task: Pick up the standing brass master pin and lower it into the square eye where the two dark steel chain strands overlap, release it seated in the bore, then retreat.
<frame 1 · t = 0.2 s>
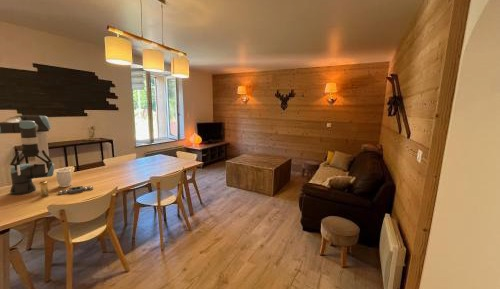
hand: (33, 173, 149), 28 cm above the table, fingers open, 13 cm apart
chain: (76, 191, 189), on the table
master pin: (45, 196, 177), on the table
jar: (65, 186, 200), on the table
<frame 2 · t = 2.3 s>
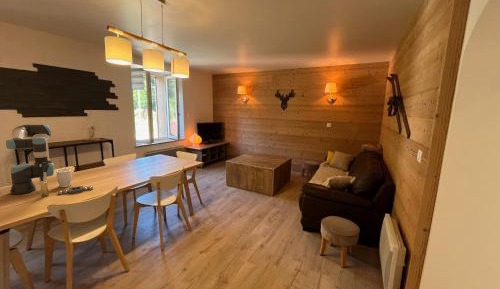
hand: (43, 182, 174), 12 cm above the table, fingers open, 13 cm apart
nothing on the table moved.
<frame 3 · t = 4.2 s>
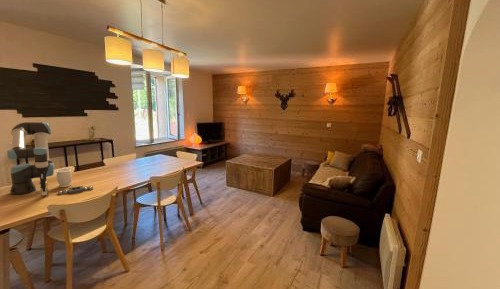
hand: (44, 193, 176), 2 cm above the table, fingers closed on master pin, 4 cm apart
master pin: (45, 196, 177), on the table, touching gripper
everything else where it was.
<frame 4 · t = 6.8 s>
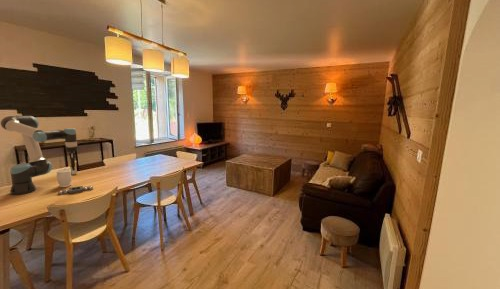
hand: (74, 172, 186), 17 cm above the table, fingers closed on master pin, 4 cm apart
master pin: (74, 175, 186), point 15 cm above the table, touching gripper
everything else where it was.
when the fingers open (3 cm above the table, at t = 9.4 s): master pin stays where it is, resting in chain.
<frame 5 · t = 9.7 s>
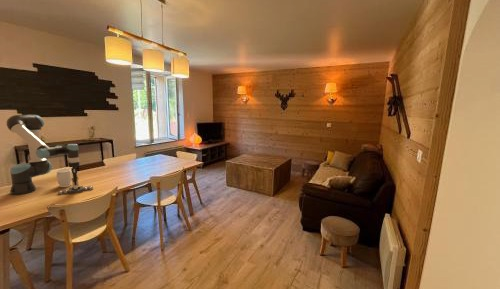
hand: (75, 186, 189), 4 cm above the table, fingers open, 8 cm apart
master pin: (76, 191, 189), resting in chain
everything else where it was.
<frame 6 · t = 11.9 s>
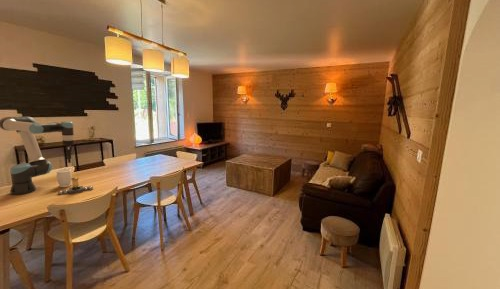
hand: (69, 164, 185), 25 cm above the table, fingers open, 13 cm apart
nothing on the table moved.
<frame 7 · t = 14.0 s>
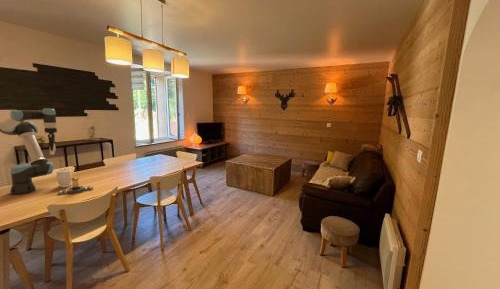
hand: (53, 152, 180), 35 cm above the table, fingers open, 13 cm apart
nothing on the table moved.
at the end: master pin 0.1 cm off-centre on the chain, point 0.0 cm above the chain's base; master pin tilted 0°; the gripper is holding nothing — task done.
